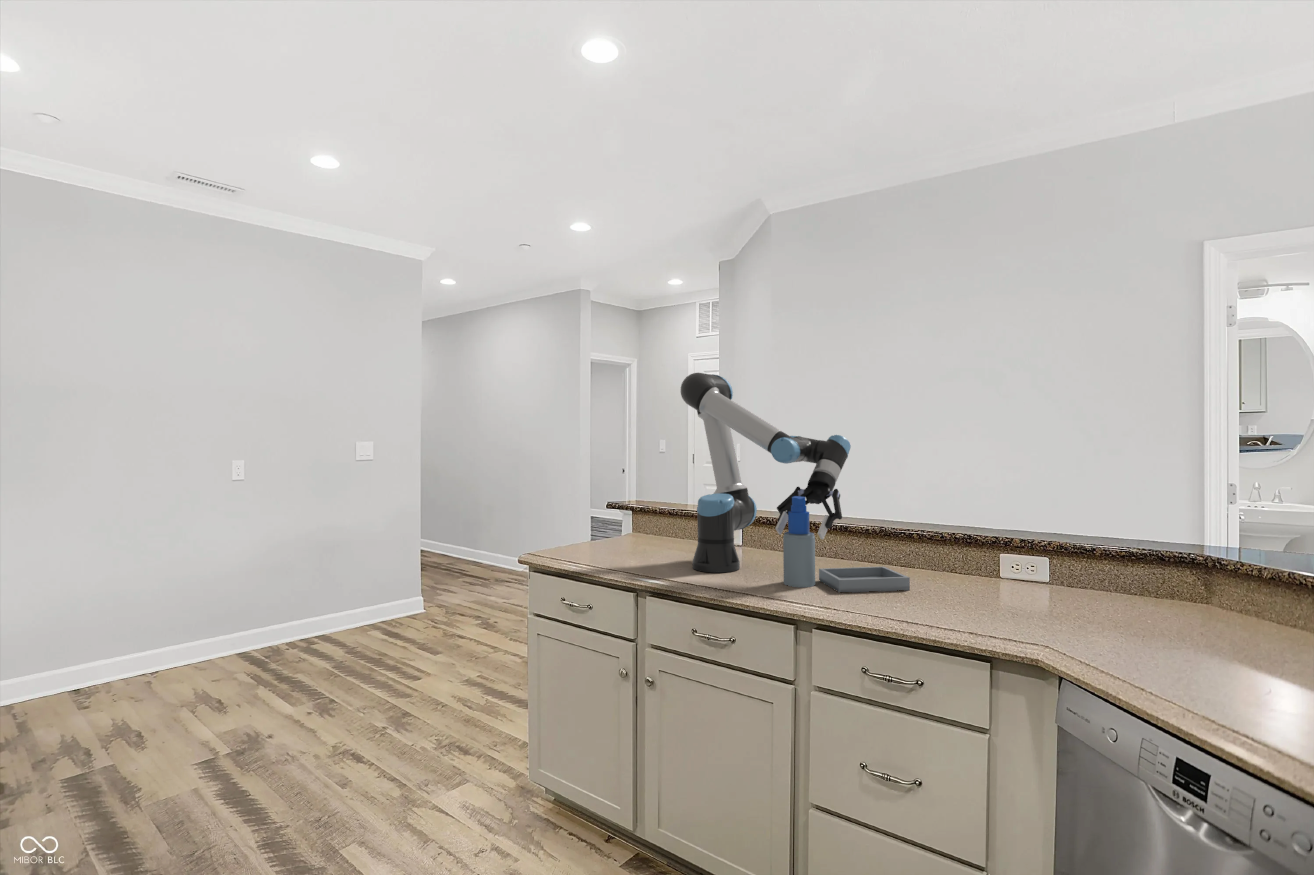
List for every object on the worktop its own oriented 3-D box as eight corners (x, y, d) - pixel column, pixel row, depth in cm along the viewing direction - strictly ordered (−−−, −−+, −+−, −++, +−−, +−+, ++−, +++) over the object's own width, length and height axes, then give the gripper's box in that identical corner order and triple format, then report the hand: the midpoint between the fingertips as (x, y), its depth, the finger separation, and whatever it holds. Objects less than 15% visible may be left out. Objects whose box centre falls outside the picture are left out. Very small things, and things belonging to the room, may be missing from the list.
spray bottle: (782, 580, 190) (781, 495, 190) (813, 580, 189) (812, 495, 189) (785, 587, 181) (784, 498, 181) (817, 587, 180) (816, 498, 180)
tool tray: (819, 580, 189) (818, 568, 189) (883, 578, 192) (883, 566, 192) (839, 592, 174) (839, 579, 174) (909, 590, 177) (909, 577, 177)
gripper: (867, 488, 189) (843, 546, 178) (792, 484, 206) (766, 537, 195) (859, 471, 185) (834, 529, 174) (783, 468, 202) (756, 521, 191)
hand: (798, 534), depth 184 cm, fingers open, 13 cm apart
